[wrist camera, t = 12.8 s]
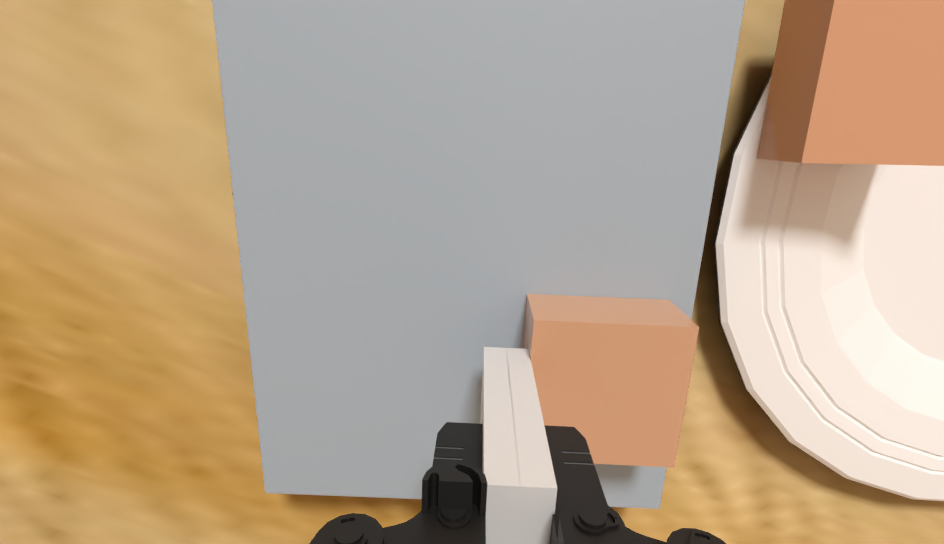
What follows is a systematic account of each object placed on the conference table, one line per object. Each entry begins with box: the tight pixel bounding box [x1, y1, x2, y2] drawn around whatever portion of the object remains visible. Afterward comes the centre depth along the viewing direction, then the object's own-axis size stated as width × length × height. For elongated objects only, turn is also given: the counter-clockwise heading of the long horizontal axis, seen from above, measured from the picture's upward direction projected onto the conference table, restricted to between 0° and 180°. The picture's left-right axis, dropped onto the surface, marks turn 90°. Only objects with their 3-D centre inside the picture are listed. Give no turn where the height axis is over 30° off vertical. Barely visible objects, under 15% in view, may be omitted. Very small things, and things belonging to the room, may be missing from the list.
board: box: [212, 0, 745, 509], centre depth 18 cm, size 16×24×3 cm, turn 178°
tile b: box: [523, 294, 699, 467], centre depth 17 cm, size 5×5×2 cm
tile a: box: [757, 0, 944, 166], centre depth 15 cm, size 5×5×2 cm
